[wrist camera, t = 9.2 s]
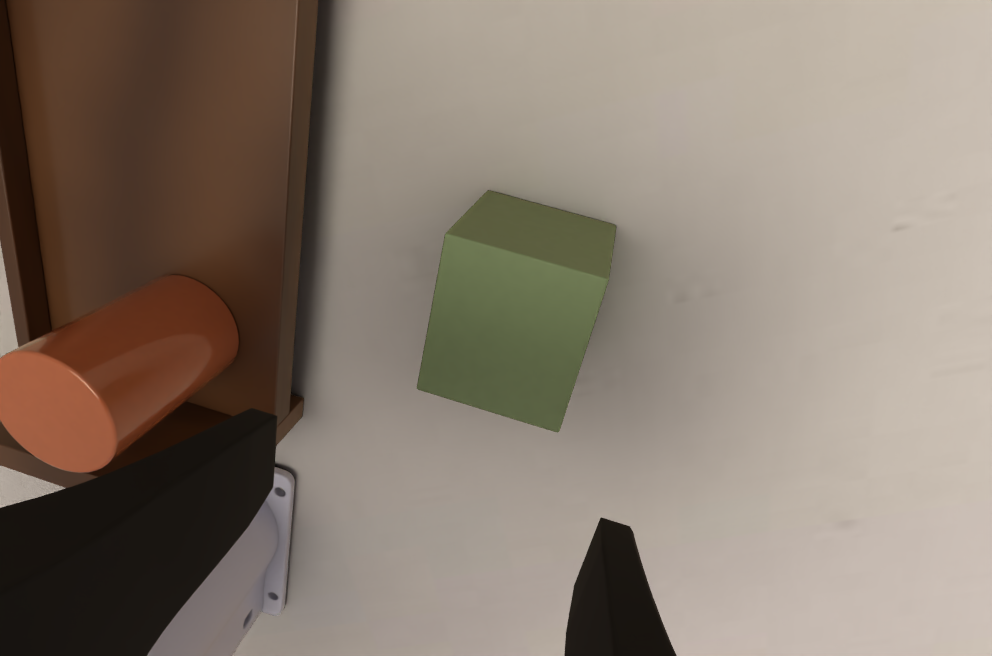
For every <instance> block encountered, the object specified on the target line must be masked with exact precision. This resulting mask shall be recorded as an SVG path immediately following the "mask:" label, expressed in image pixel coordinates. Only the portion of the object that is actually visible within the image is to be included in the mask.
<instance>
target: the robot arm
mask: <svg viewBox="0 0 992 656" xmlns="http://www.w3.org/2000/svg"><path fill="white" fill-rule="evenodd" d="M276 433H277V416H276V415H273V414H270V413H267V412H263V411H260V410H257V409H254V408H250V409H248V410H246V411H244V412H241V413H239V414H237V415H235V416H233V417H231V418H229V419H227V420H225V421H223V422H221V423H219V424H217V425H215V426H213V427H211V428H209V429H206V430H204V431H202V432H200V433H198V434H196V435H194V436H192V437H190V438H188V439H185V440H183V441H181V442H179V443H177V444H175V445H173V446H171V447H168V448H166V449H164V450H162V451H160V452H158V453H155V454H153V455H150V456H148V457H146V458H143V459H141V460H139V461H136V462H134V463H131V464H129V465H127V466H124V467H122V468H120V469H117V470H115V471H113V472H110V473H107V474H105V475H102V476H100V477H97V478H94V479H92V480H89V481H86V482H83V483H80V484H78V485H75V486H72V487H69V488H66V489H63V490H60V491H57V492H54V493H51V494H48V495H44V496H41V497H38V498H34V499H31V500H27V501H23V502H20V503H16V504H13V505H9V506H6V507H2V508H0V656H232V655H233V653H234V652H235V650H236V649H237V647H238V646H239V644H240V643H241V641H242V640H243V638H244V637H245V635H246V634H247V632H248V631H249V629H250V628H251V626H252V625H253V623H254V622H255V620H256V619H257V617H258V615H259V614H260V612H261V611H262V612H264V613H267V614H270V615H274V616H277V615H280V614H281V613H282V611H283V610H284V608H285V598H286V586H287V573H288V561H289V548H290V536H291V524H292V511H293V499H294V486H295V480H294V477H293V476H292V474H291V473H289V472H288V471H286V470H283V469H280V468H277V467H275V451H276ZM281 488H282V489H283V490H282V489H281ZM565 656H676V654H675V651H674V649H673V647H672V645H671V642H670V640H669V637H668V635H667V632H666V630H665V628H664V625H663V622H662V620H661V617H660V615H659V612H658V609H657V607H656V604H655V601H654V599H653V596H652V593H651V590H650V587H649V584H648V581H647V578H646V575H645V572H644V569H643V566H642V563H641V559H640V556H639V552H638V549H637V545H636V542H635V538H634V534H633V531H632V529H631V528H630V526H627V525H624V524H620V523H617V522H614V521H611V520H608V519H604V518H600V521H599V523H598V526H597V528H596V531H595V534H594V536H593V539H592V541H591V544H590V546H589V549H588V551H587V554H586V557H585V559H584V562H583V564H582V567H581V569H580V572H579V574H578V577H577V580H576V582H575V585H574V590H573V596H572V601H571V607H570V613H569V619H568V625H567V631H566V642H565Z"/></svg>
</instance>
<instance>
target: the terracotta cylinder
mask: <svg viewBox="0 0 992 656" xmlns="http://www.w3.org/2000/svg"><path fill="white" fill-rule="evenodd" d="M238 347H239V334H238V328H237V325H236V322H235V320H234V317H233V315H232V313H231V312H230V310H229V308H228V307H227V305H226V304H225V303H224V301H223V300H222V299H221V298H220V297H219V296H218V295H217V294H216V293H215V292H214V291H213V290H211V289H210V288H209V287H207V286H206V285H204V284H203V283H201V282H199V281H197V280H195V279H192V278H189V277H186V276H181V275H165V276H160V277H158V278H155V279H153V280H151V281H149V282H147V283H145V284H143V285H141V286H139V287H137V288H135V289H133V290H131V291H129V292H127V293H125V294H123V295H121V296H119V297H117V298H116V299H114V300H112V301H110V302H108V303H106V304H104V305H102V306H100V307H98V308H96V309H94V310H92V311H90V312H88V313H86V314H84V315H82V316H80V317H78V318H76V319H74V320H72V321H70V322H68V323H66V324H64V325H62V326H60V327H58V328H56V329H54V330H52V331H50V332H48V333H46V334H44V335H42V336H40V337H38V338H36V339H34V340H32V341H30V342H28V343H26V344H25V345H23V346H21V347H19V348H17V349H15V350H13V351H11V352H9V353H7V354H5V355H3V356H2V357H1V358H0V421H1V422H2V424H3V425H4V427H5V428H6V429H7V431H8V432H9V433H10V434H11V436H12V437H13V438H14V439H15V440H16V441H17V442H18V443H19V444H20V445H21V446H22V447H24V448H25V449H26V450H27V451H28V452H30V453H31V454H32V455H34V456H35V457H37V458H38V459H40V460H42V461H43V462H45V463H47V464H49V465H51V466H54V467H56V468H59V469H62V470H65V471H70V472H77V473H86V472H92V471H96V470H99V469H101V468H103V467H105V466H106V465H108V464H109V463H110V462H111V461H113V460H114V459H115V458H116V457H118V456H119V455H120V454H121V453H122V452H124V451H125V450H126V449H127V448H129V447H130V446H131V445H132V444H134V443H135V442H136V441H137V440H139V439H140V438H141V437H142V436H144V435H145V434H146V433H147V432H148V431H150V430H151V429H152V428H153V427H155V426H156V425H157V424H158V423H160V422H161V421H162V420H163V419H165V418H166V417H167V416H168V415H170V414H171V413H172V412H173V411H174V410H176V409H177V408H178V407H179V406H181V405H182V404H183V403H184V402H186V401H187V400H188V399H189V398H191V397H192V396H193V395H194V394H196V393H197V392H198V391H199V390H201V389H202V388H203V387H204V386H205V385H207V384H208V383H209V382H210V381H212V380H213V379H214V378H215V377H217V376H218V375H219V374H220V373H222V372H223V371H224V370H225V369H227V368H228V367H229V366H230V365H231V364H232V362H233V361H234V359H235V357H236V355H237V351H238Z"/></svg>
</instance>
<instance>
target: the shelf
mask: <svg viewBox="0 0 992 656" xmlns="http://www.w3.org/2000/svg"><path fill="white" fill-rule="evenodd" d="M317 12H318V0H0V242H1V248H2V253H3V259H4V265H5V271H6V277H7V283H8V289H9V295H10V301H11V307H12V312H13V318H14V324H15V330H16V336H17V342H18V348H19V347H21V346H23V345H25V344H26V343H28V342H30V341H32V340H34V339H36V338H38V337H40V336H42V335H44V334H46V333H48V332H50V331H52V330H54V329H56V328H58V327H60V326H62V325H64V324H66V323H68V322H70V321H72V320H74V319H76V318H78V317H80V316H82V315H84V314H86V313H88V312H90V311H92V310H94V309H96V308H98V307H100V306H102V305H104V304H106V303H108V302H110V301H112V300H114V299H116V298H117V297H119V296H121V295H123V294H125V293H127V292H129V291H131V290H133V289H135V288H137V287H139V286H141V285H143V284H145V283H147V282H149V281H151V280H153V279H155V278H158V277H160V276H165V275H181V276H186V277H189V278H192V279H195V280H197V281H199V282H201V283H203V284H204V285H206V286H207V287H209V288H210V289H211V290H213V291H214V292H215V293H216V294H217V295H218V296H219V297H220V298H221V299H222V300H223V301H224V303H225V304H226V305H227V307H228V308H229V310H230V312H231V313H232V315H233V317H234V320H235V322H236V325H237V328H238V334H239V347H238V351H237V355H236V357H235V359H234V361H233V362H232V364H231V365H230V366H229V367H228V368H227V369H225V370H224V371H223V372H222V373H220V374H219V375H218V376H217V377H215V378H214V379H213V380H212V381H210V382H209V383H208V384H207V385H205V386H204V387H203V388H202V389H201V390H199V391H198V392H197V393H196V394H194V395H193V396H192V397H191V398H189V399H188V400H187V401H186V402H184V403H183V404H182V405H181V406H179V407H178V408H177V409H176V410H174V411H173V412H172V413H171V414H170V415H168V416H167V417H166V418H165V419H163V420H162V421H161V422H160V423H158V424H157V425H156V426H155V427H153V428H152V429H151V430H150V431H148V432H147V433H146V434H145V435H144V436H142V437H141V438H140V439H139V440H137V441H136V442H135V443H134V444H132V445H131V446H130V447H129V448H127V449H126V450H125V451H124V452H122V453H121V454H120V455H119V456H118V457H116V458H115V459H114V460H113V461H111V462H110V463H109V464H108V465H106V466H105V467H103V468H101V469H99V470H96V471H92V472H86V473H77V472H70V471H65V470H62V469H59V468H56V467H54V466H51V465H49V464H47V463H45V462H43V461H42V460H40V459H38V458H37V457H35V456H34V455H32V454H31V453H30V452H28V451H27V450H26V449H25V448H24V447H22V446H21V445H20V444H19V443H18V442H17V441H16V440H15V439H14V438H13V437H12V436H11V434H10V433H9V432H8V431H7V429H6V428H5V427H4V425H3V424H2V422H1V421H0V465H1V466H4V467H7V468H10V469H13V470H16V471H19V472H21V473H24V474H27V475H30V476H33V477H36V478H39V479H42V480H45V481H48V482H51V483H54V484H57V485H59V486H62V487H65V488H69V487H72V486H75V485H78V484H80V483H83V482H86V481H89V480H92V479H94V478H97V477H100V476H102V475H105V474H107V473H110V472H113V471H115V470H117V469H120V468H122V467H124V466H127V465H129V464H131V463H134V462H136V461H139V460H141V459H143V458H146V457H148V456H150V455H153V454H155V453H158V452H160V451H162V450H164V449H166V448H168V447H171V446H173V445H175V444H177V443H179V442H181V441H183V440H185V439H188V438H190V437H192V436H194V435H196V434H198V433H200V432H202V431H204V430H206V429H209V428H211V427H213V426H215V425H217V424H219V423H221V422H223V421H225V420H227V419H229V418H231V417H233V416H235V415H237V414H239V413H241V412H244V411H246V410H248V409H250V408H254V409H257V410H260V411H263V412H267V413H270V414H273V415H276V416H277V433H276V446H277V444H278V443H279V442H280V441H281V440H282V439H283V438H284V437H285V435H286V434H287V433H288V432H289V431H290V430H291V429H292V428H293V426H294V425H295V424H296V423H297V422H298V421H299V420H300V419H301V417H302V413H303V401H304V398H302V397H299V396H296V395H292V394H291V381H292V367H293V353H294V339H295V324H296V310H297V296H298V282H299V268H300V253H301V239H302V225H303V211H304V197H305V182H306V168H307V154H308V140H309V126H310V111H311V97H312V83H313V69H314V55H315V40H316V26H317Z"/></svg>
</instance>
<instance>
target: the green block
mask: <svg viewBox="0 0 992 656" xmlns="http://www.w3.org/2000/svg"><path fill="white" fill-rule="evenodd" d="M615 233H616V225H613V224H610V223H606V222H602V221H599V220H595V219H591V218H588V217H584V216H580V215H577V214H573V213H570V212H566V211H562V210H559V209H555V208H551V207H548V206H544V205H540V204H537V203H533V202H529V201H526V200H522V199H518V198H515V197H511V196H508V195H504V194H500V193H497V192H493V191H489V190H488V191H487V192H486V193H485V194H484V195H483V196H482V197H481V198H480V199H479V200H478V201H477V202H476V203H475V204H474V205H473V206H472V207H471V208H470V209H469V210H468V211H467V212H466V213H465V214H464V215H463V216H462V217H461V218H460V219H459V220H458V221H457V222H456V223H455V224H454V225H453V226H452V227H451V228H450V229H449V230H448V231H447V232H446V234H445V237H444V243H443V248H442V254H441V259H440V264H439V270H438V275H437V281H436V286H435V292H434V297H433V302H432V308H431V313H430V319H429V324H428V330H427V335H426V340H425V346H424V351H423V357H422V362H421V368H420V373H419V378H418V384H417V389H418V390H421V391H424V392H428V393H431V394H434V395H437V396H441V397H444V398H447V399H450V400H454V401H457V402H460V403H463V404H467V405H470V406H473V407H476V408H479V409H483V410H486V411H489V412H492V413H496V414H499V415H502V416H505V417H509V418H512V419H515V420H518V421H522V422H525V423H528V424H531V425H535V426H538V427H541V428H544V429H547V430H551V431H554V432H559V431H560V428H561V425H562V422H563V419H564V416H565V413H566V410H567V407H568V403H569V400H570V397H571V394H572V391H573V388H574V385H575V382H576V379H577V376H578V373H579V370H580V367H581V364H582V361H583V358H584V354H585V351H586V348H587V345H588V342H589V339H590V336H591V333H592V330H593V327H594V324H595V321H596V318H597V315H598V312H599V308H600V305H601V302H602V299H603V296H604V293H605V290H606V287H607V284H608V281H609V275H610V268H611V261H612V254H613V247H614V240H615Z"/></svg>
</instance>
